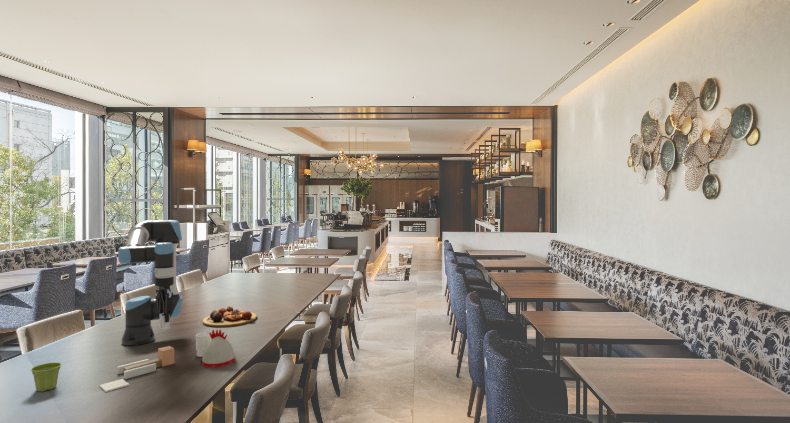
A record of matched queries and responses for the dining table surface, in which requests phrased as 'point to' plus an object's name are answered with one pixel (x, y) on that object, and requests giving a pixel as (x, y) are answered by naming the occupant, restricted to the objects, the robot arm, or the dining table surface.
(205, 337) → the white cup
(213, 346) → the white chicken figurine
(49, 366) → the plant pot
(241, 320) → the wooden plate with food
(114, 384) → the coaster
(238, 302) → the dining table surface
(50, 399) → the dining table surface
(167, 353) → the block
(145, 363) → the rod
